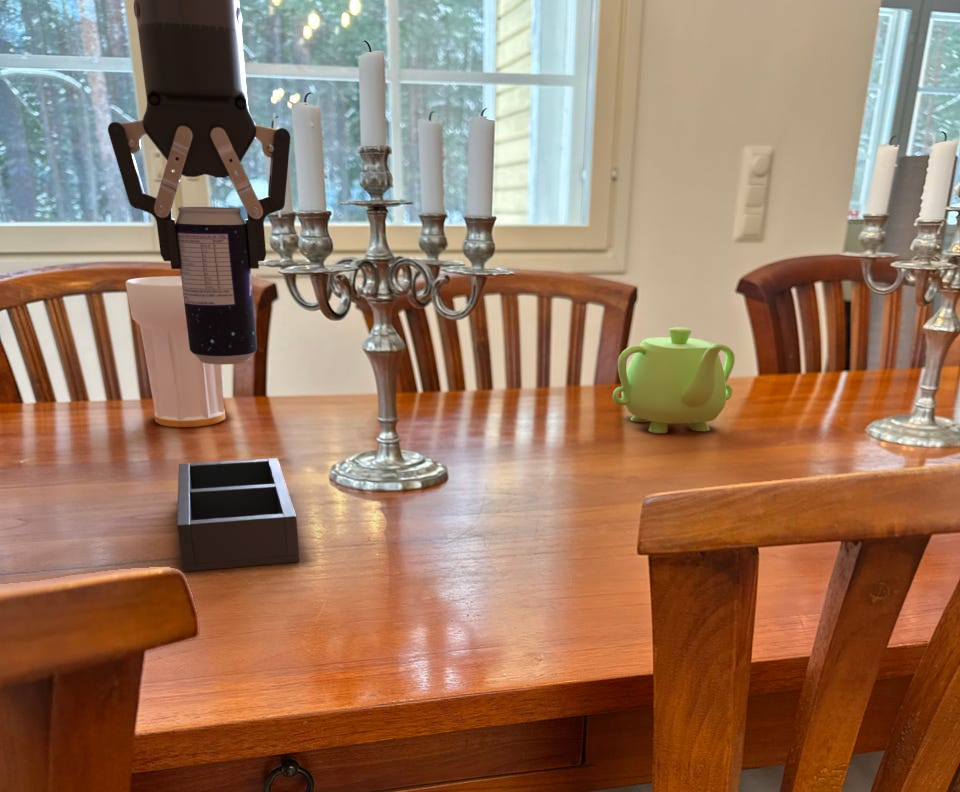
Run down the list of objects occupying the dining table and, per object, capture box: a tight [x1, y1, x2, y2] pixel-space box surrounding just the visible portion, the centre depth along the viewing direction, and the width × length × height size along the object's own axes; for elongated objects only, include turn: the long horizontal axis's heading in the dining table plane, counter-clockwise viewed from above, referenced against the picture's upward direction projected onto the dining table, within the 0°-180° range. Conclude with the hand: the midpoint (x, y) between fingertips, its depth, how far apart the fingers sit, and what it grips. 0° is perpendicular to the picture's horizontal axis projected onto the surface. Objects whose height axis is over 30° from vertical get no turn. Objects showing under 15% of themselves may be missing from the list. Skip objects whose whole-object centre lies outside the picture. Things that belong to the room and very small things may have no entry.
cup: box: [125, 275, 226, 428], centre depth 116 cm, size 11×11×17 cm
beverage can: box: [175, 206, 258, 366], centre depth 75 cm, size 6×6×12 cm
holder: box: [176, 457, 301, 573], centre depth 82 cm, size 10×18×4 cm, turn 16°
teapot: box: [612, 327, 736, 434], centre depth 119 cm, size 16×14×13 cm
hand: (215, 267), depth 75 cm, fingers closed on beverage can, 5 cm apart
